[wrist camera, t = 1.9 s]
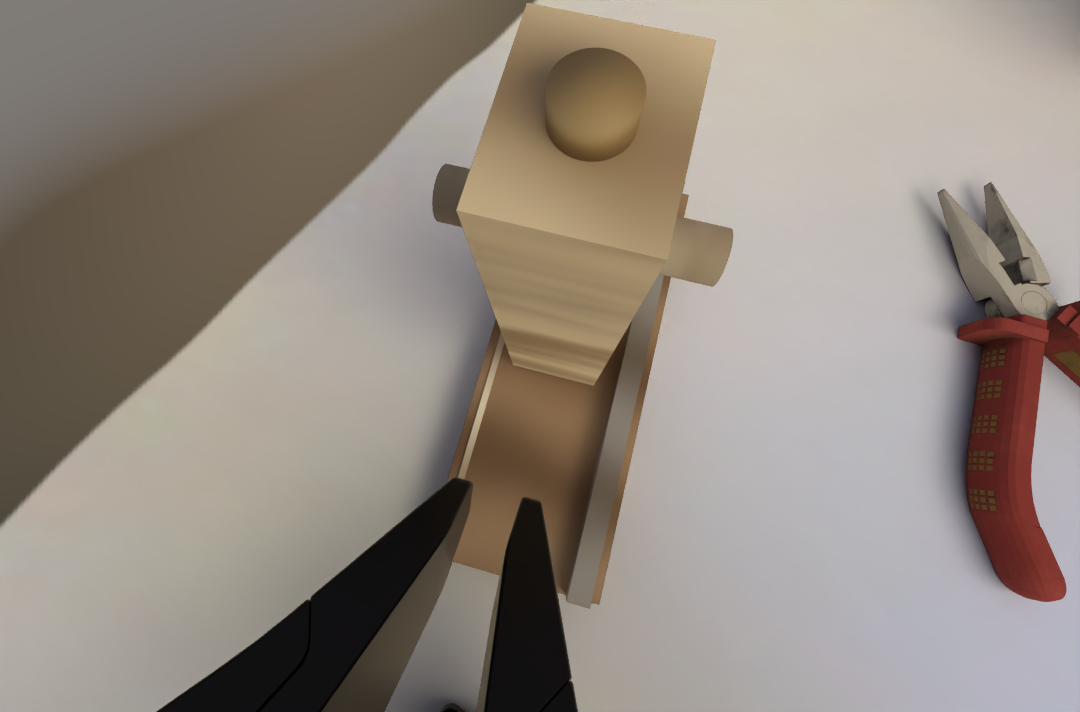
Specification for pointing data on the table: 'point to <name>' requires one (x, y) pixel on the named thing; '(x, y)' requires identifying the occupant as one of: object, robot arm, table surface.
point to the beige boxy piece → (584, 185)
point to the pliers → (1010, 387)
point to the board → (556, 452)
